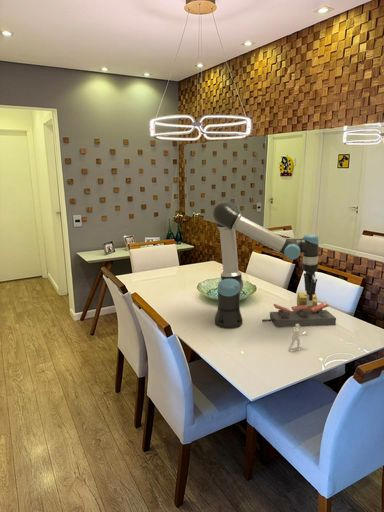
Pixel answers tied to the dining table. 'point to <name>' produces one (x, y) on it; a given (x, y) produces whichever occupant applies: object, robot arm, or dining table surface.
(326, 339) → the dining table surface
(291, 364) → the dining table surface
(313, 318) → the power strip
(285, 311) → the rocker
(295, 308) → the rocker
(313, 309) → the rocker
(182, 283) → the dining table surface
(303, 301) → the cheese
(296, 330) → the figurine
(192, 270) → the dining table surface
